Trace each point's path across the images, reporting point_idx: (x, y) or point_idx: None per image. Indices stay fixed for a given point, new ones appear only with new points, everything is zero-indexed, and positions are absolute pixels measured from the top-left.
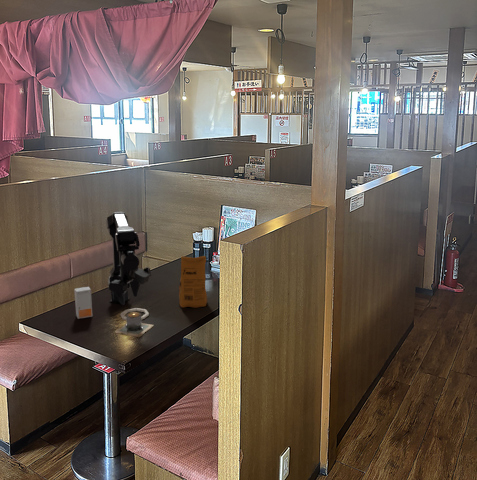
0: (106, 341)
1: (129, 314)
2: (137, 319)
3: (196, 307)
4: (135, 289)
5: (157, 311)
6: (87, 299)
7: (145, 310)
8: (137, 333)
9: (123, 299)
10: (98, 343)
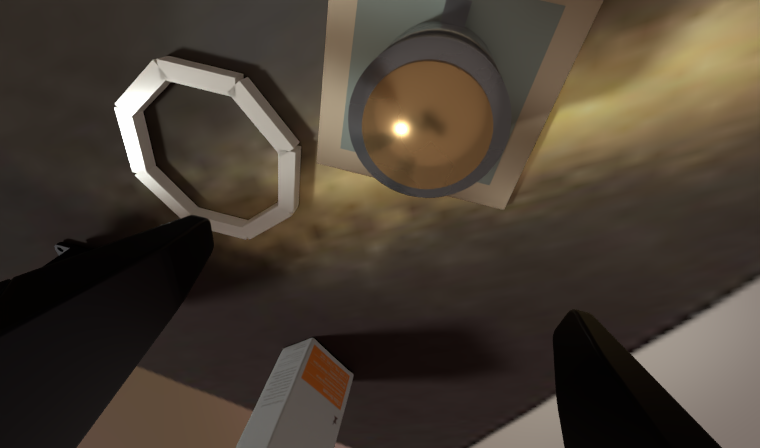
0: (644, 218)
1: (437, 173)
2: (487, 57)
3: None
4: (110, 318)
5: (71, 4)
6: (292, 441)
7: (129, 102)
8: (545, 19)
9: (702, 430)
10: (666, 254)
